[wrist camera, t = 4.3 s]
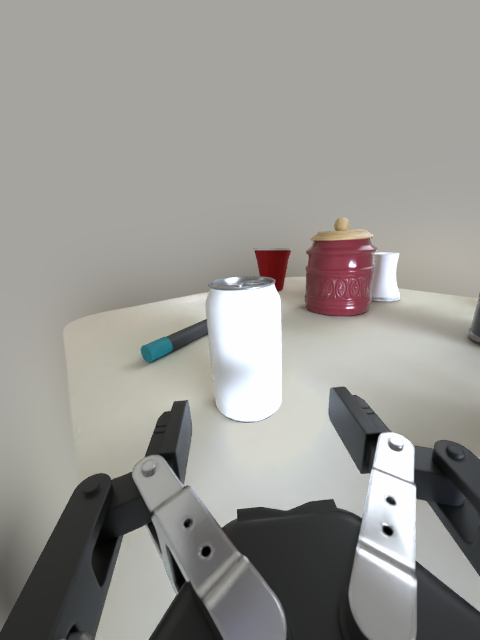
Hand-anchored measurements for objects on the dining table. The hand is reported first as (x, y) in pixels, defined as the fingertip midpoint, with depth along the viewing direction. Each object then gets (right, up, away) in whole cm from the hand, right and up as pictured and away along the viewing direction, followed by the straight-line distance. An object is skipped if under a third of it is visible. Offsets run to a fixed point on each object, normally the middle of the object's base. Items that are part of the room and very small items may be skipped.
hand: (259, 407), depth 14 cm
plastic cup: (+9, +14, +60) cm, 62 cm away
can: (0, -3, +11) cm, 11 cm away
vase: (+32, +10, +45) cm, 56 cm away
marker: (-9, +1, +26) cm, 27 cm away
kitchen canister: (+19, +7, +39) cm, 44 cm away
